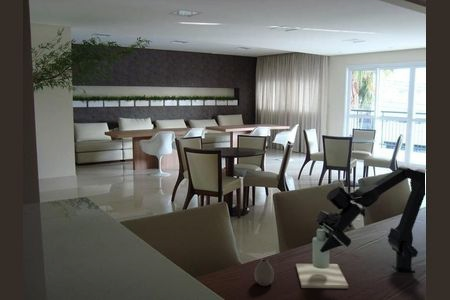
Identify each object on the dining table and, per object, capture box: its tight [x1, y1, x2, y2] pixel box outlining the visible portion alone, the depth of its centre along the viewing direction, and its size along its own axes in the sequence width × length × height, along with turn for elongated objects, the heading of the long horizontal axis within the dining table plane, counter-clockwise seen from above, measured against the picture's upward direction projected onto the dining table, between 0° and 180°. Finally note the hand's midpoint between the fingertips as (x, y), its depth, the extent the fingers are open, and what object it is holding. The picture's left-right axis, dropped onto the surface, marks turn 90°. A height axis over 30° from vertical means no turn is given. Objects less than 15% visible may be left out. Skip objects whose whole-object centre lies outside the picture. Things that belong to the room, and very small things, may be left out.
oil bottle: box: [312, 228, 330, 269], centre depth 148 cm, size 6×6×14 cm
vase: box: [254, 258, 275, 287], centre depth 144 cm, size 7×7×9 cm
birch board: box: [295, 263, 349, 289], centre depth 149 cm, size 18×16×1 cm
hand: (317, 248), depth 147 cm, fingers closed on oil bottle, 6 cm apart
